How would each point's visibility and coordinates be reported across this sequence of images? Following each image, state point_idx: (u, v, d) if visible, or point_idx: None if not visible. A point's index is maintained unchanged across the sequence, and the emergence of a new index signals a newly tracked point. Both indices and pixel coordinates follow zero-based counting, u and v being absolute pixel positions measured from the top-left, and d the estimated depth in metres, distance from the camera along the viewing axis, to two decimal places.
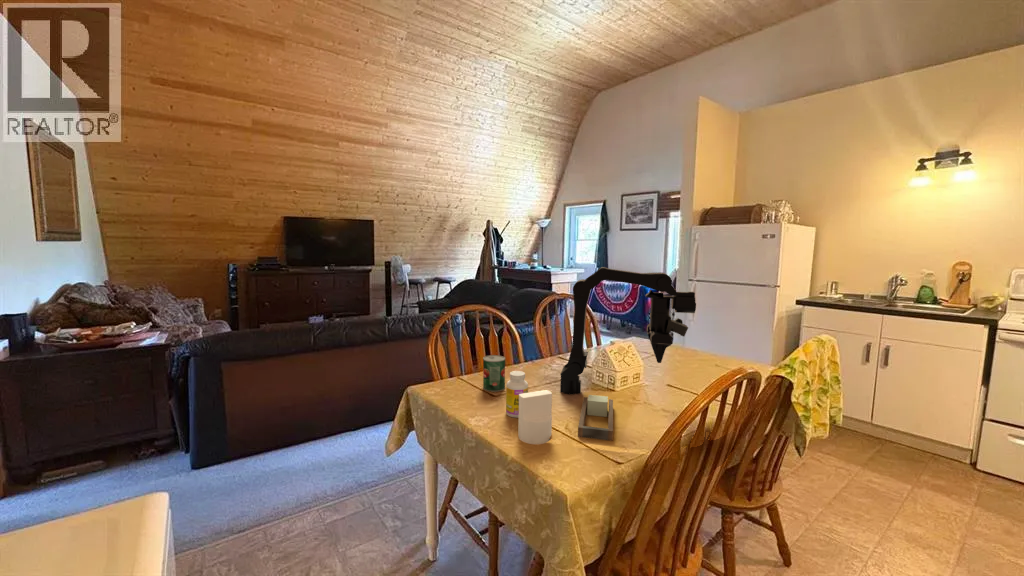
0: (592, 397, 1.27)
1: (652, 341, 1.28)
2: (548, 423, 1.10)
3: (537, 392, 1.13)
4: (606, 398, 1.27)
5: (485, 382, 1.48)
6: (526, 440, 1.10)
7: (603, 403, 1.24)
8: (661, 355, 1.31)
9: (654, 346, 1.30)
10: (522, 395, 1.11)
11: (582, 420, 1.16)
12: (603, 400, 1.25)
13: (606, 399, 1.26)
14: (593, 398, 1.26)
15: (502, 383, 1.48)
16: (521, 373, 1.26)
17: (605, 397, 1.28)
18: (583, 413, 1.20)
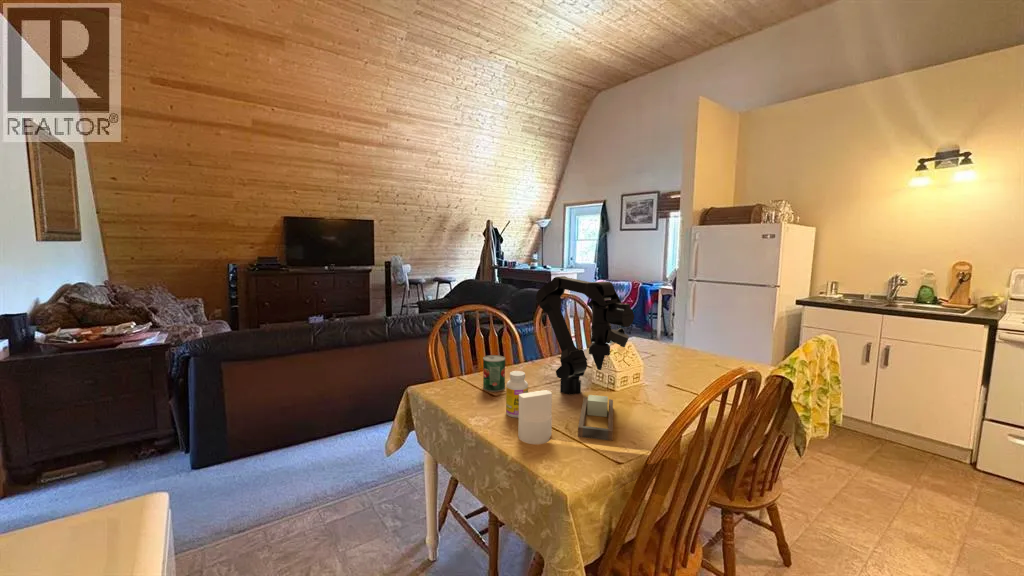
0: (592, 397, 1.27)
1: (589, 352, 1.25)
2: (548, 423, 1.10)
3: (537, 392, 1.13)
4: (606, 398, 1.27)
5: (485, 382, 1.48)
6: (526, 440, 1.10)
7: (603, 403, 1.24)
8: (601, 362, 1.32)
9: None
10: (522, 395, 1.11)
11: (582, 420, 1.16)
12: (603, 400, 1.25)
13: (606, 399, 1.26)
14: (593, 398, 1.26)
15: (502, 383, 1.48)
16: (521, 373, 1.26)
17: (605, 397, 1.28)
18: (583, 413, 1.20)
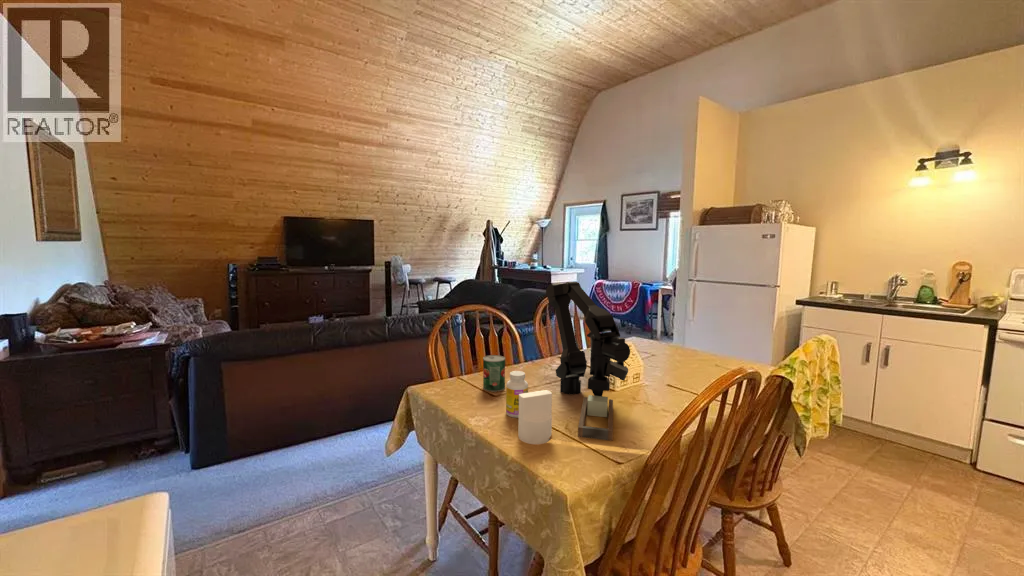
0: (592, 397, 1.27)
1: (588, 387, 1.22)
2: (548, 423, 1.10)
3: (537, 392, 1.13)
4: (606, 398, 1.26)
5: (485, 382, 1.48)
6: (526, 440, 1.10)
7: (603, 404, 1.24)
8: (600, 395, 1.29)
9: None
10: (522, 395, 1.11)
11: (582, 420, 1.16)
12: (603, 400, 1.25)
13: (606, 399, 1.26)
14: (593, 399, 1.26)
15: (502, 383, 1.48)
16: (521, 373, 1.26)
17: (605, 397, 1.28)
18: (583, 413, 1.20)
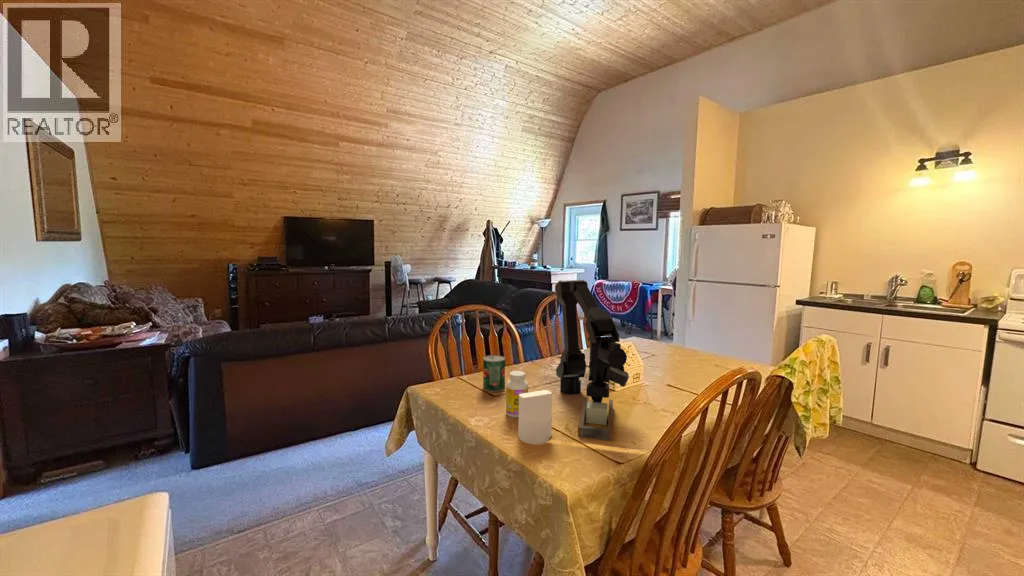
0: (591, 404, 1.22)
1: (587, 394, 1.16)
2: (548, 423, 1.10)
3: (537, 392, 1.13)
4: (606, 405, 1.21)
5: (485, 382, 1.48)
6: (526, 440, 1.10)
7: (602, 411, 1.19)
8: (599, 402, 1.24)
9: None
10: (522, 395, 1.11)
11: (582, 420, 1.16)
12: (603, 407, 1.20)
13: (606, 406, 1.21)
14: (592, 405, 1.21)
15: (502, 383, 1.48)
16: (521, 373, 1.26)
17: (605, 403, 1.22)
18: (583, 413, 1.20)
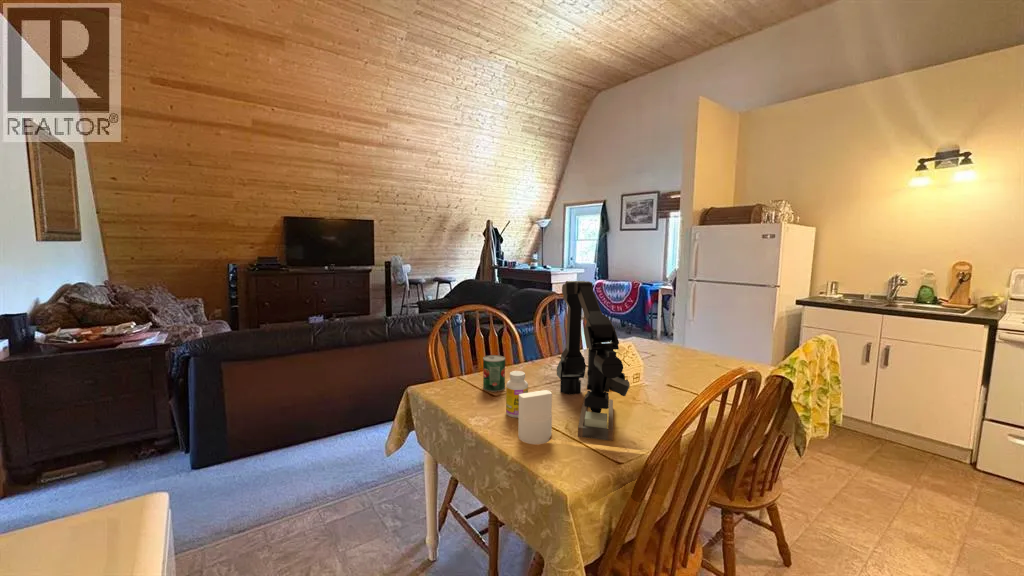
0: (589, 414, 1.15)
1: (585, 405, 1.09)
2: (548, 423, 1.10)
3: (537, 392, 1.13)
4: (605, 415, 1.14)
5: (485, 382, 1.48)
6: (526, 440, 1.10)
7: (601, 422, 1.11)
8: (598, 412, 1.17)
9: None
10: (522, 395, 1.11)
11: (582, 420, 1.16)
12: (602, 418, 1.12)
13: (605, 417, 1.13)
14: (590, 416, 1.14)
15: (502, 383, 1.48)
16: (521, 373, 1.26)
17: (605, 414, 1.15)
18: (583, 413, 1.20)
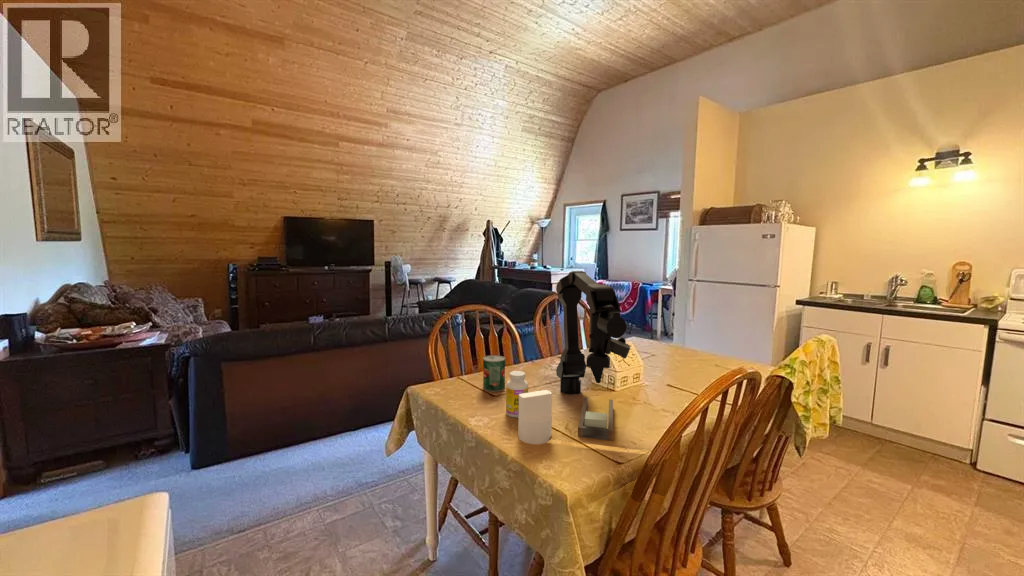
0: (589, 414, 1.15)
1: (587, 364, 1.13)
2: (548, 423, 1.10)
3: (537, 392, 1.13)
4: (605, 415, 1.14)
5: (485, 382, 1.48)
6: (526, 440, 1.10)
7: (601, 422, 1.11)
8: (600, 375, 1.20)
9: None
10: (522, 395, 1.11)
11: (582, 420, 1.16)
12: (602, 418, 1.12)
13: (605, 417, 1.13)
14: (590, 416, 1.14)
15: (502, 383, 1.48)
16: (521, 373, 1.26)
17: (605, 414, 1.15)
18: (583, 413, 1.20)
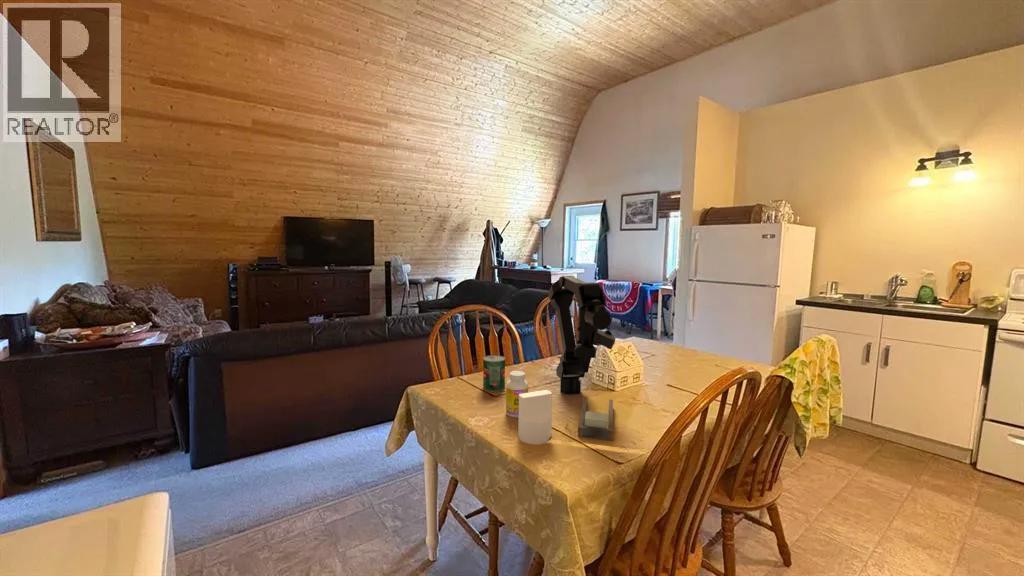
0: (589, 414, 1.15)
1: (575, 355, 1.22)
2: (548, 423, 1.10)
3: (537, 392, 1.13)
4: (605, 415, 1.14)
5: (485, 382, 1.48)
6: (526, 440, 1.10)
7: (601, 422, 1.11)
8: (587, 365, 1.29)
9: None
10: (522, 395, 1.11)
11: (582, 420, 1.16)
12: (602, 418, 1.12)
13: (605, 417, 1.13)
14: (590, 416, 1.14)
15: (502, 383, 1.48)
16: (521, 373, 1.26)
17: (605, 414, 1.15)
18: (583, 413, 1.20)
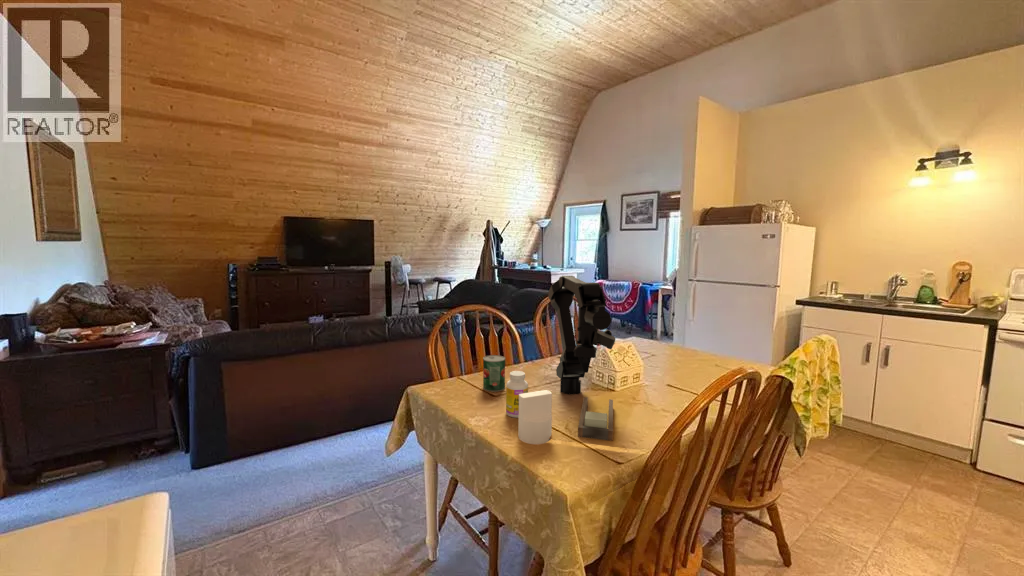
0: (589, 414, 1.15)
1: (575, 355, 1.22)
2: (548, 423, 1.10)
3: (537, 392, 1.13)
4: (605, 415, 1.14)
5: (485, 382, 1.48)
6: (526, 440, 1.10)
7: (601, 422, 1.11)
8: (587, 365, 1.29)
9: None
10: (522, 395, 1.11)
11: (582, 420, 1.16)
12: (602, 418, 1.12)
13: (605, 417, 1.13)
14: (590, 416, 1.14)
15: (502, 383, 1.48)
16: (521, 373, 1.26)
17: (605, 414, 1.15)
18: (583, 413, 1.20)
